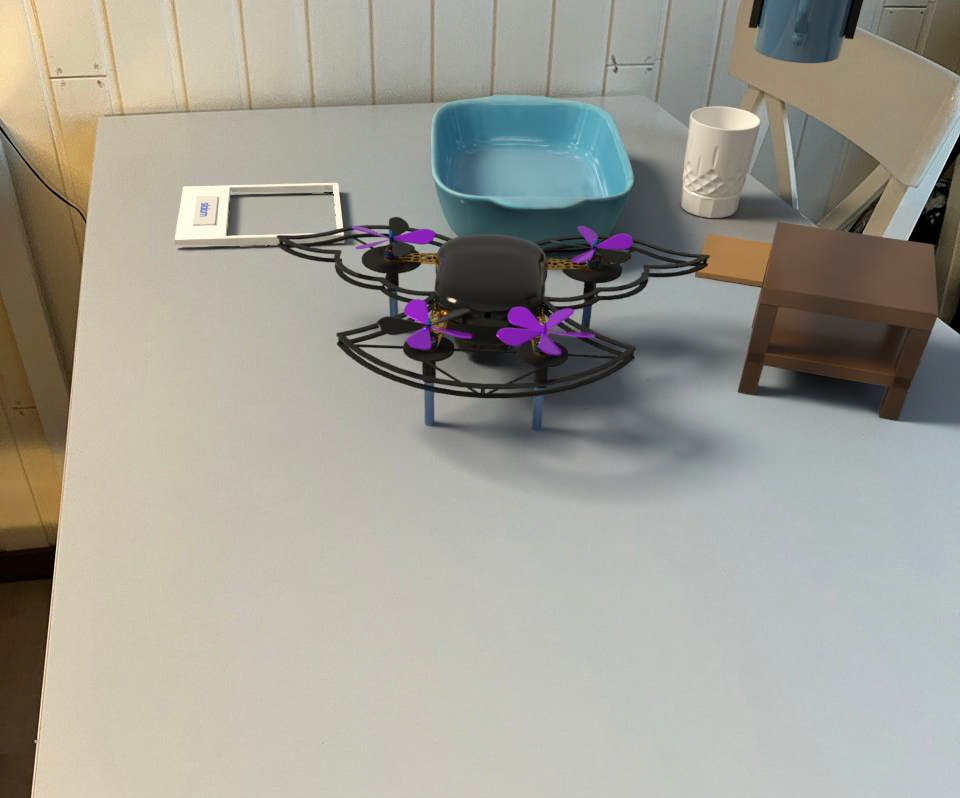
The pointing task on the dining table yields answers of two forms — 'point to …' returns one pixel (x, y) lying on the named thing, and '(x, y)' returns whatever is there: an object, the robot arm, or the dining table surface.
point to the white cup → (717, 159)
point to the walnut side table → (844, 309)
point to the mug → (802, 29)
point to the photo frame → (209, 213)
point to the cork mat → (735, 260)
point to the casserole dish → (529, 167)
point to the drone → (488, 302)
